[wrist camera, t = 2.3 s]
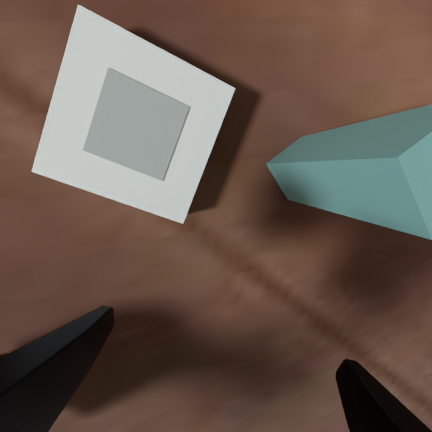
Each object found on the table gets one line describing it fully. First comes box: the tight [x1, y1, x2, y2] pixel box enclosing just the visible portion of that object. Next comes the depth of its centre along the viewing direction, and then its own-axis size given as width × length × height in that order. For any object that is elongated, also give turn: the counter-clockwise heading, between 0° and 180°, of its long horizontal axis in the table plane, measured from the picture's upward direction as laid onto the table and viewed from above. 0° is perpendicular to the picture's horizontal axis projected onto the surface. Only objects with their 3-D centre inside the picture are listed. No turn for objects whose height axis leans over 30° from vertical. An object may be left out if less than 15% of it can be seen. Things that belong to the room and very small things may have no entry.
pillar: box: [266, 105, 432, 240], centre depth 14 cm, size 4×4×12 cm
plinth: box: [31, 5, 235, 224], centre depth 16 cm, size 10×10×3 cm
